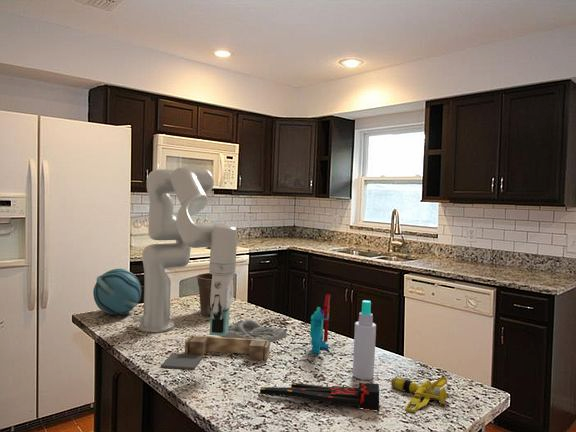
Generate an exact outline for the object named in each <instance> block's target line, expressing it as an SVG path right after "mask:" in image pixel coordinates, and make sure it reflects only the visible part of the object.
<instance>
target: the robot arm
mask: <svg viewBox="0 0 576 432" xmlns="http://www.w3.org/2000/svg"><path fill="white" fill-rule="evenodd" d="M214 183H215V180H214V177H213V174H212V173H211V172H210V170H208V169H206V168H199V167H186V166H185V167H182V166H181V167H178V168H175V169H164V168H163V169H161V168H159V169H154V170H152V171H151V172H149V173H148V175H147V180H146V192H147V194H148V195H147V196H148V199H149V212H148V227H147V228H148V229H147V230H148V236H149V238H150V239H152V240H154V241H175V242H173V243H171V242H170V243H169V242H167V243H165V242H164V243H163V242H161V243H152V244H148V245H146V246H145V247H144V248H143V250H142V254H141V258H142V264H143V276H144V277H143V278H144V280H143V281H144V282H143V283H144V285H143V287H144V289H143V314H142V315H137V314H135V315H133V316H132V318H133V319H132V320H133V322H134V323H137V322H139V324H138V329H139V330H140V331H141V332H145V333H162V332H163V333H164V332H168V331H170V330H173V328H174V327H175V326H174V325H175V324H174V322H173V321H171V319H170V318H171V285H172V282H171V278H170V277H169V275H168V274H167V272H166V271H165V270H168V269H181V268H184V267H186V266H187V265H189V262H190V259H191V248H192V249H196V248H197V249H198V248H199V249H200V248H210V253H209V269H208V271H209V272H208V273H210V274H212V281H211V282H212V283H211V296H210V307H211V308H212V309H213V317H212V332H215V333H222V332H223V323H224V319H223V310H224V309H225V310H227V309H228V308H229V306H230V307H231V305H232V304H233V302H234V280H233V275H234V276H235V275H236V267H237V249H238V248H237V247H238V229H237V228H236V227H235V226H232V225H227V224H226V223H223V222H218V221H217V222H212V221H211V222H209V221H207V222H204V221H203V222H202V221H200V222H198V221H197V222H194V221H193V220H192V218H191V216H194V215H196V214H198V213H200V212H202V211H203V210H204V209H205V208H206V207H207V205H208V203H209V198H208V196H207V194H208V193H210V192H212V190H213V188H214V185H215V184H214ZM170 194H174V195H176V197H177V198H178V201H179V202H180V204H181V206H180V207H179V209H178V211H177V214H174V209H175V208H174V206H175V205H174V201H173V198H172V197H171V195H170ZM220 306H221V308H219V307H220ZM218 310H219V311H221V314H220V312H219V311H218Z"/></svg>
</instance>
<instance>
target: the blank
mask: <svg viewBox="0 0 576 432" xmlns="http://www.w3.org/2000/svg"><path fill="white" fill-rule="evenodd" d="M219 308H221V307H219ZM218 311H219V310H218ZM219 312H220V314H221V311H219ZM212 317H213V309H212V310H211V315H210V317H209V318H210V319H209V322H210V323H209V336H216V337H221V336H225V335H226V334H227V332H228V326H229V325H230V324H229V323H230V322H229V320H230V309H229V308H228V309H227V310H225V309H224V310H223V319H224V323H223V332H222V333H215V332H212Z"/></svg>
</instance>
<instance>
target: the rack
mask: <svg viewBox="0 0 576 432" xmlns="http://www.w3.org/2000/svg"><path fill="white" fill-rule="evenodd" d="M270 345H271V342H270V340H257V339H242V338H227V337H221V336H212V335H195V334H191V335H190V336H189V337H188V338H187V339H186V340H185V341H184V354H191V355H203V357H204V356H205V355H206V354H207V352H217V353H218V352H220V353H233V354H234V353H235V354H248V360H251V361H252V360H253V361H264V362H268V359H269V356H270Z"/></svg>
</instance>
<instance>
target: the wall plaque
mask: <svg viewBox="0 0 576 432" xmlns="http://www.w3.org/2000/svg"><path fill="white" fill-rule="evenodd" d="M222 337H227V338H242V339H257V340H270V343H273V342H275V341H278V340H281V339H283V338H287V337H288V334H287V330H286V329H285V328H283V327H277V328H273V327H271V326H263V325H260V324H259V323H258V322H257V321H255V320H252V319H245V320H243V319H239V321H237V322H234V323H232V324H229V326H228V332H227V334H226V335H225V336H222Z"/></svg>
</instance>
